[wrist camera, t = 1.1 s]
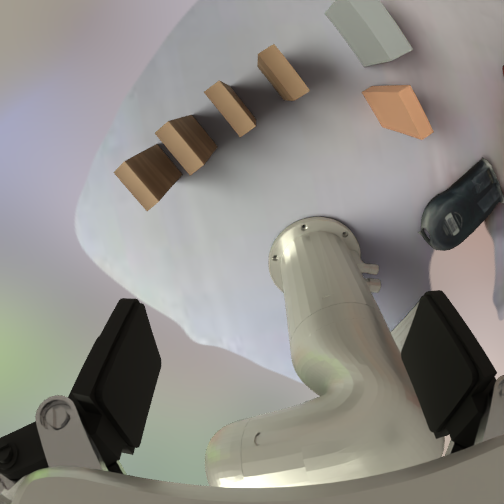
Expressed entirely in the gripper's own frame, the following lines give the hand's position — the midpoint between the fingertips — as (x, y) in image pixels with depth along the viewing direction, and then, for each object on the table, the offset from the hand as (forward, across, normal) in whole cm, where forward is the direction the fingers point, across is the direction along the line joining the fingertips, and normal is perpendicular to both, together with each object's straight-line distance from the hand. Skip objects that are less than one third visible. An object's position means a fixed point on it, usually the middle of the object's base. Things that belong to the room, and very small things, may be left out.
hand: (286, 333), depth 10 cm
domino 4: (+28, -2, -9) cm, 30 cm away
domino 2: (+28, +8, -3) cm, 30 cm away
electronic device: (+29, -28, +6) cm, 41 cm away
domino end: (+28, -14, -7) cm, 32 cm away
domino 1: (+28, +12, 0) cm, 31 cm away
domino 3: (+28, +3, -6) cm, 29 cm away
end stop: (+28, -11, -16) cm, 34 cm away
